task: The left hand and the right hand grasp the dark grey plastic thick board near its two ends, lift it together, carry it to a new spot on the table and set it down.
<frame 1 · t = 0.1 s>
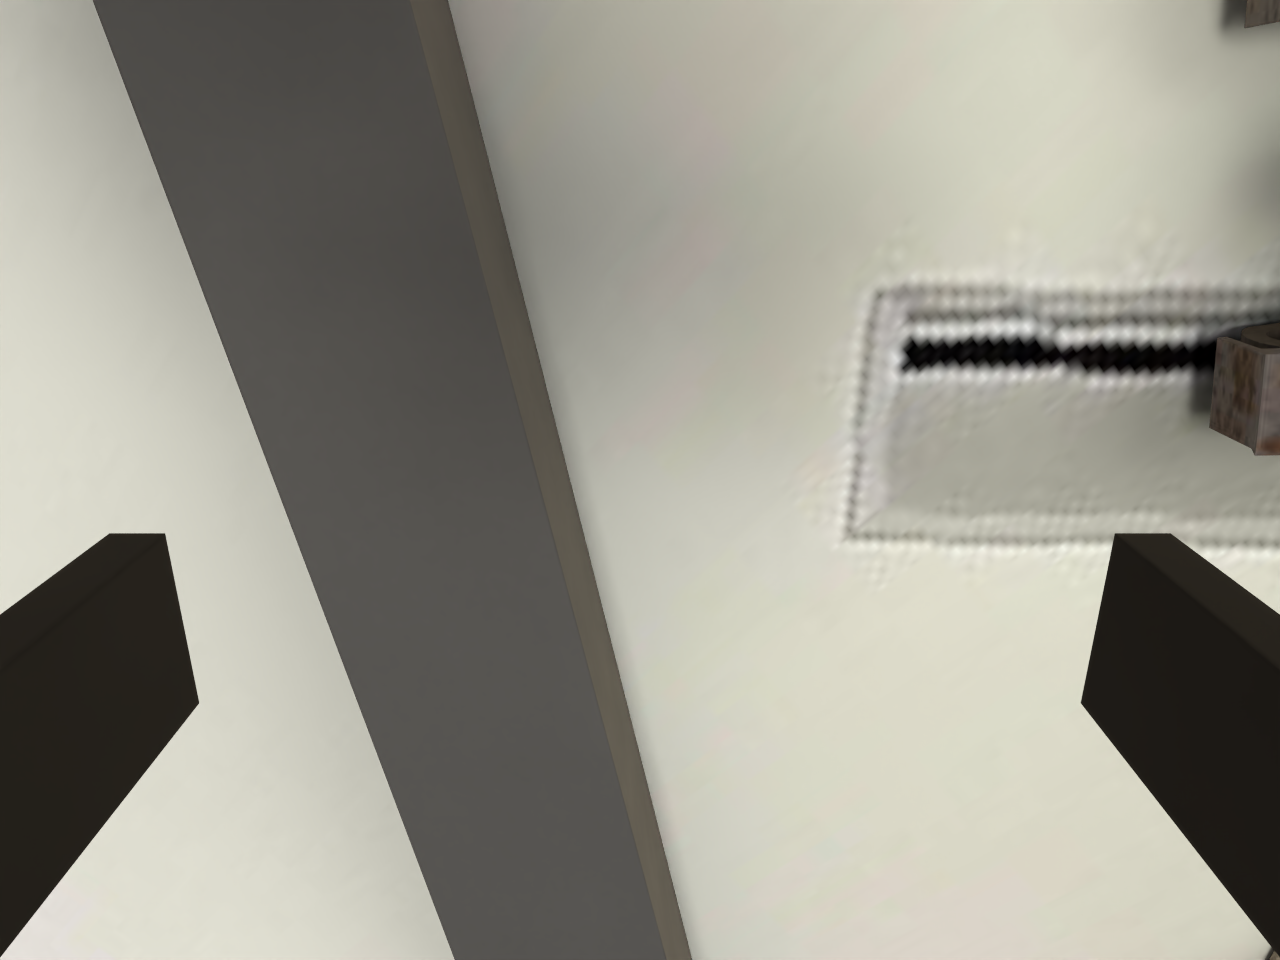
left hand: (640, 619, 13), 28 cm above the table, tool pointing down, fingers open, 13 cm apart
thick board: (494, 588, 44), on the table
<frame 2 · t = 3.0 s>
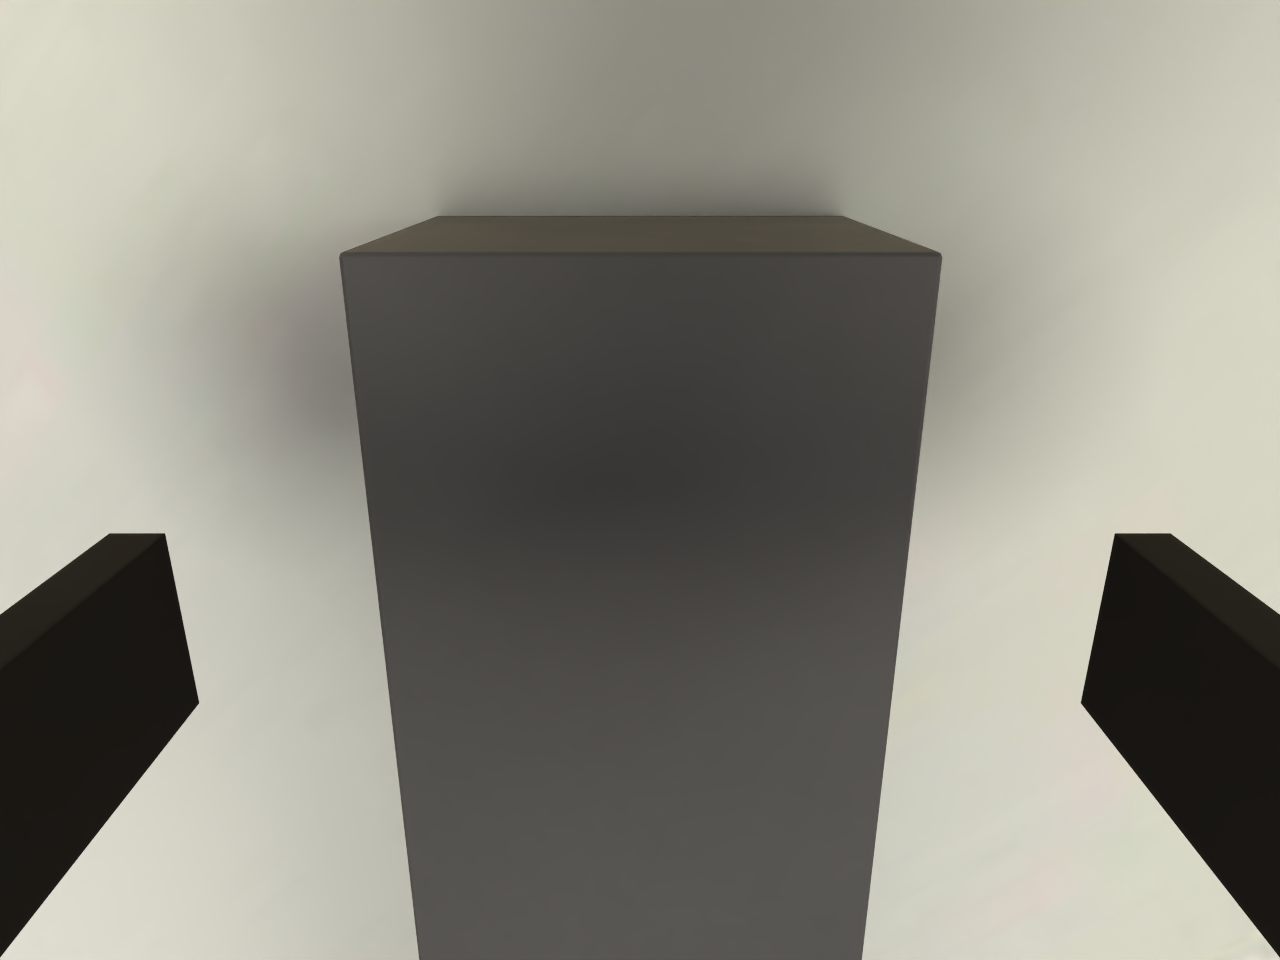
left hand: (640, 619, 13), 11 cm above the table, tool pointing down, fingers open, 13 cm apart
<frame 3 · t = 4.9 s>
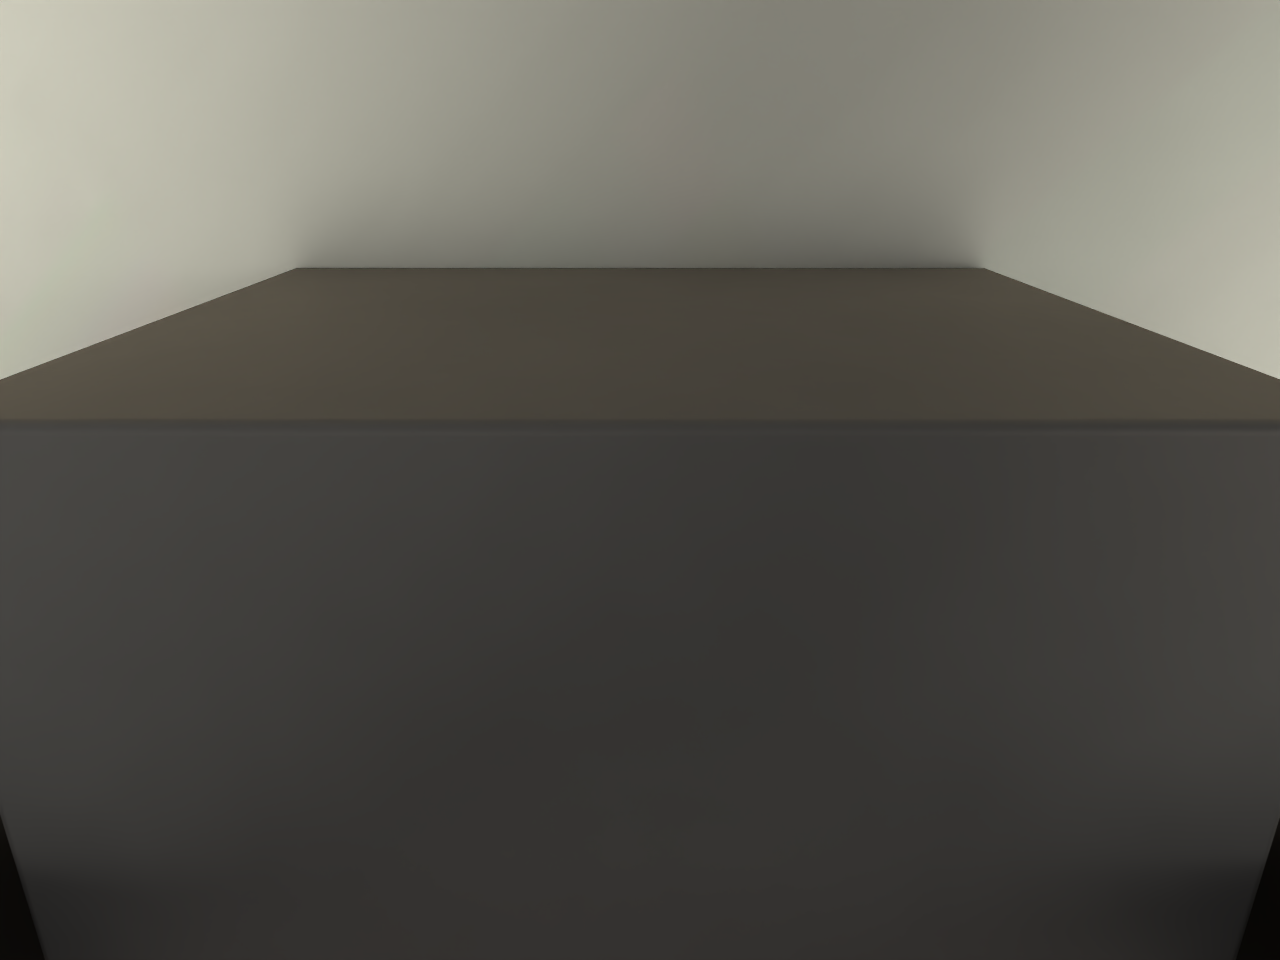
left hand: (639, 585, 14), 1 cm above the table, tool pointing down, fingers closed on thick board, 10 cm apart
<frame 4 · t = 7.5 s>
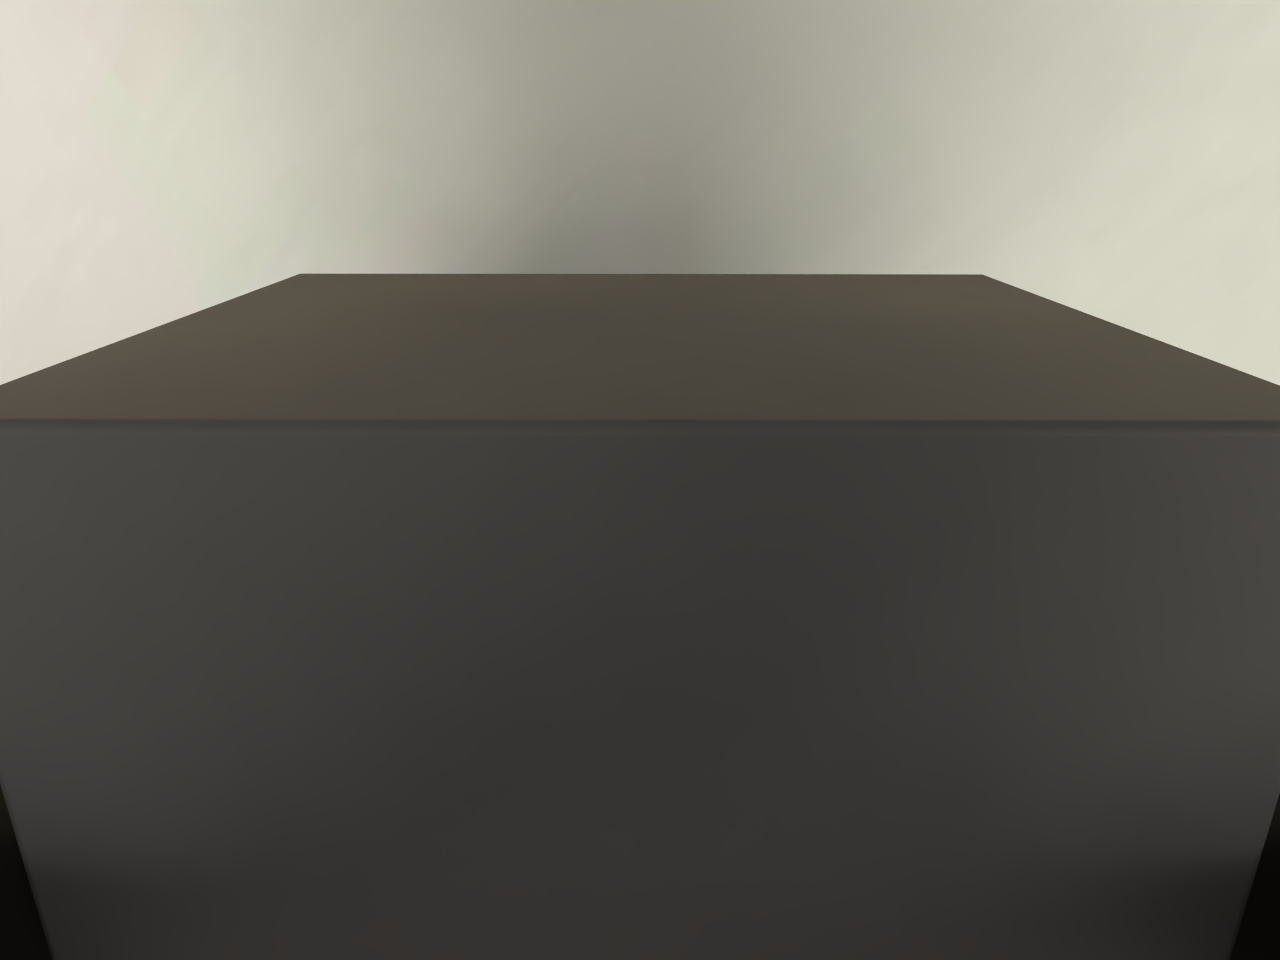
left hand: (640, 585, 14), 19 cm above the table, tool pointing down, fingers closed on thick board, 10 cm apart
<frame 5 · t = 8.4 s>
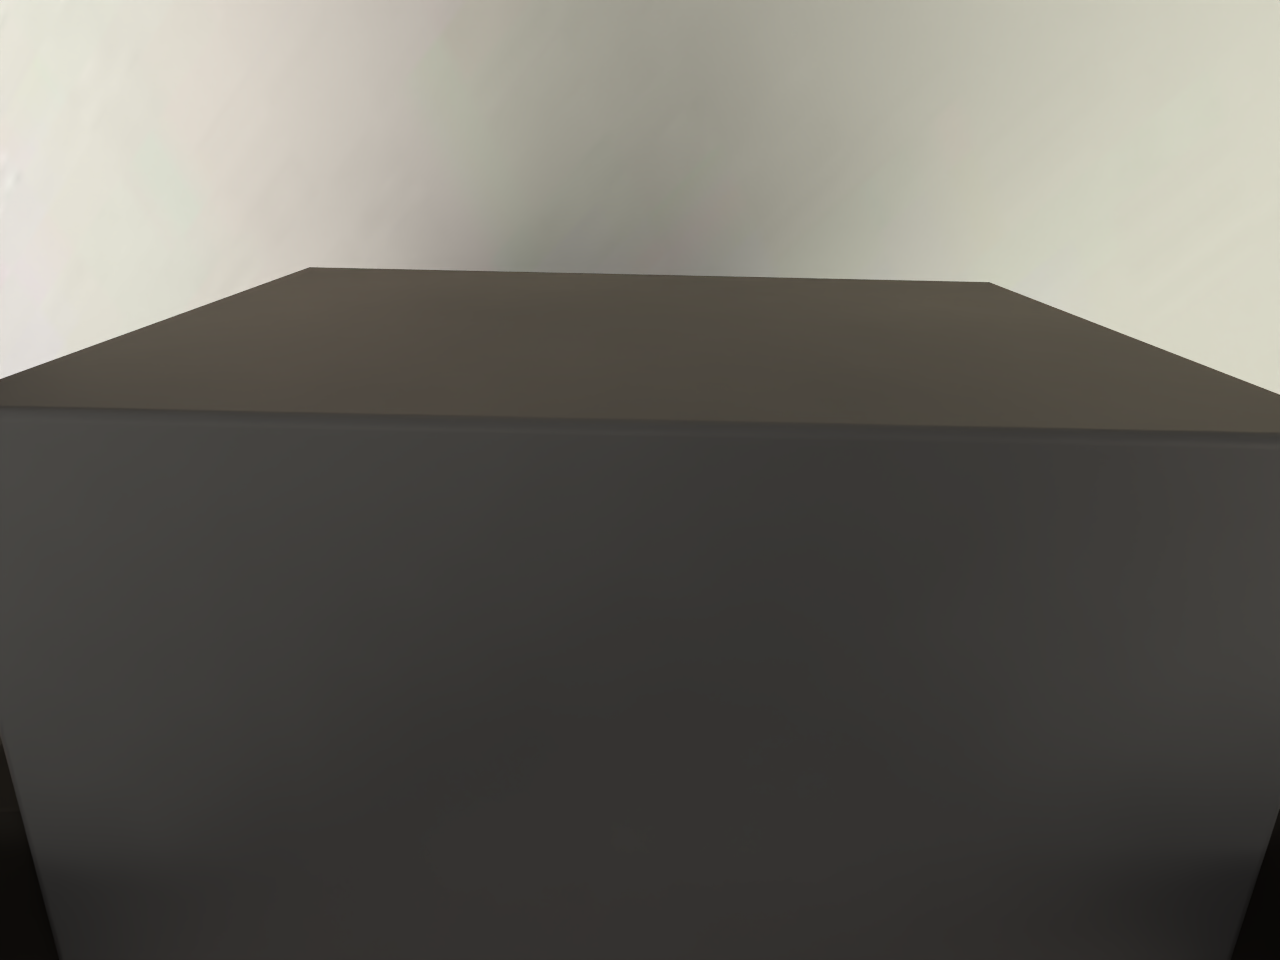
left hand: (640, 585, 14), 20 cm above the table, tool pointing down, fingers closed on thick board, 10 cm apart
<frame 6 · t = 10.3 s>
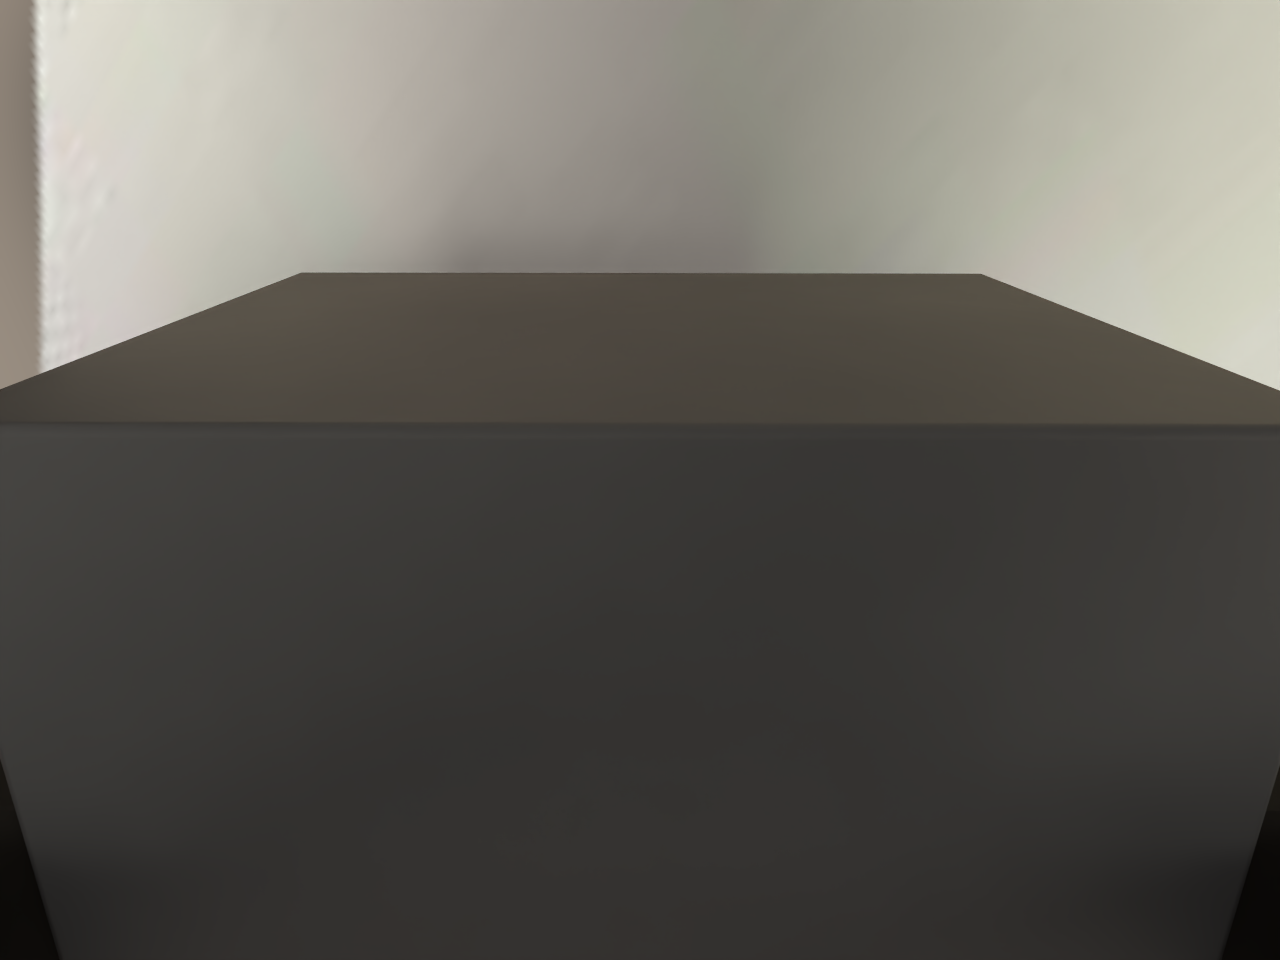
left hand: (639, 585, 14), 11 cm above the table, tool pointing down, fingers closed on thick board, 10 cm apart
when the left hand's fingers open (2 cm above the table, at t = 11.9 s): thick board drops 1 cm, on the table.
when the right hand's fingers open (2 cm above the table, at t = 11.9 s): thick board drops 1 cm, on the table.
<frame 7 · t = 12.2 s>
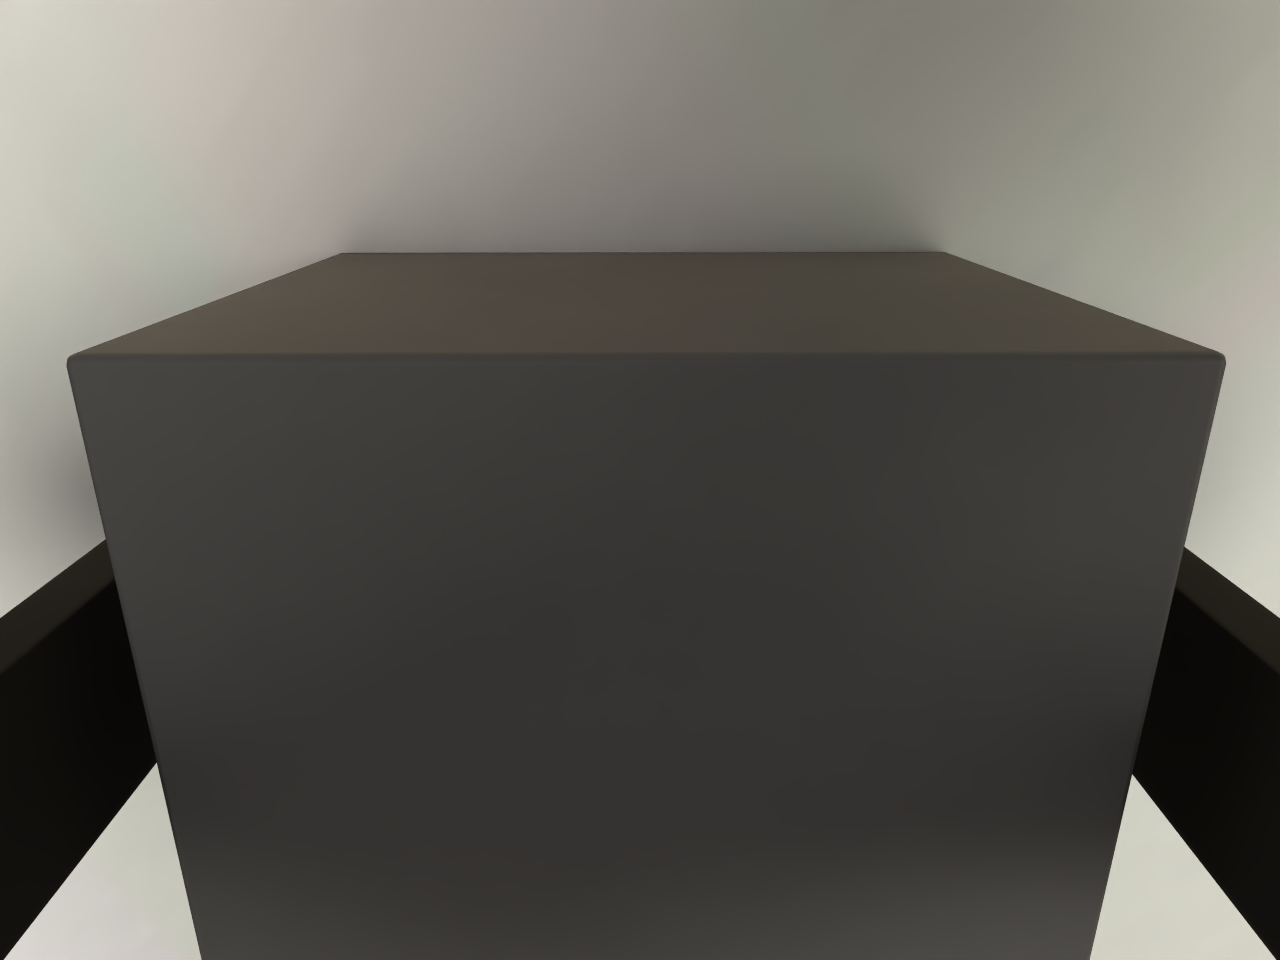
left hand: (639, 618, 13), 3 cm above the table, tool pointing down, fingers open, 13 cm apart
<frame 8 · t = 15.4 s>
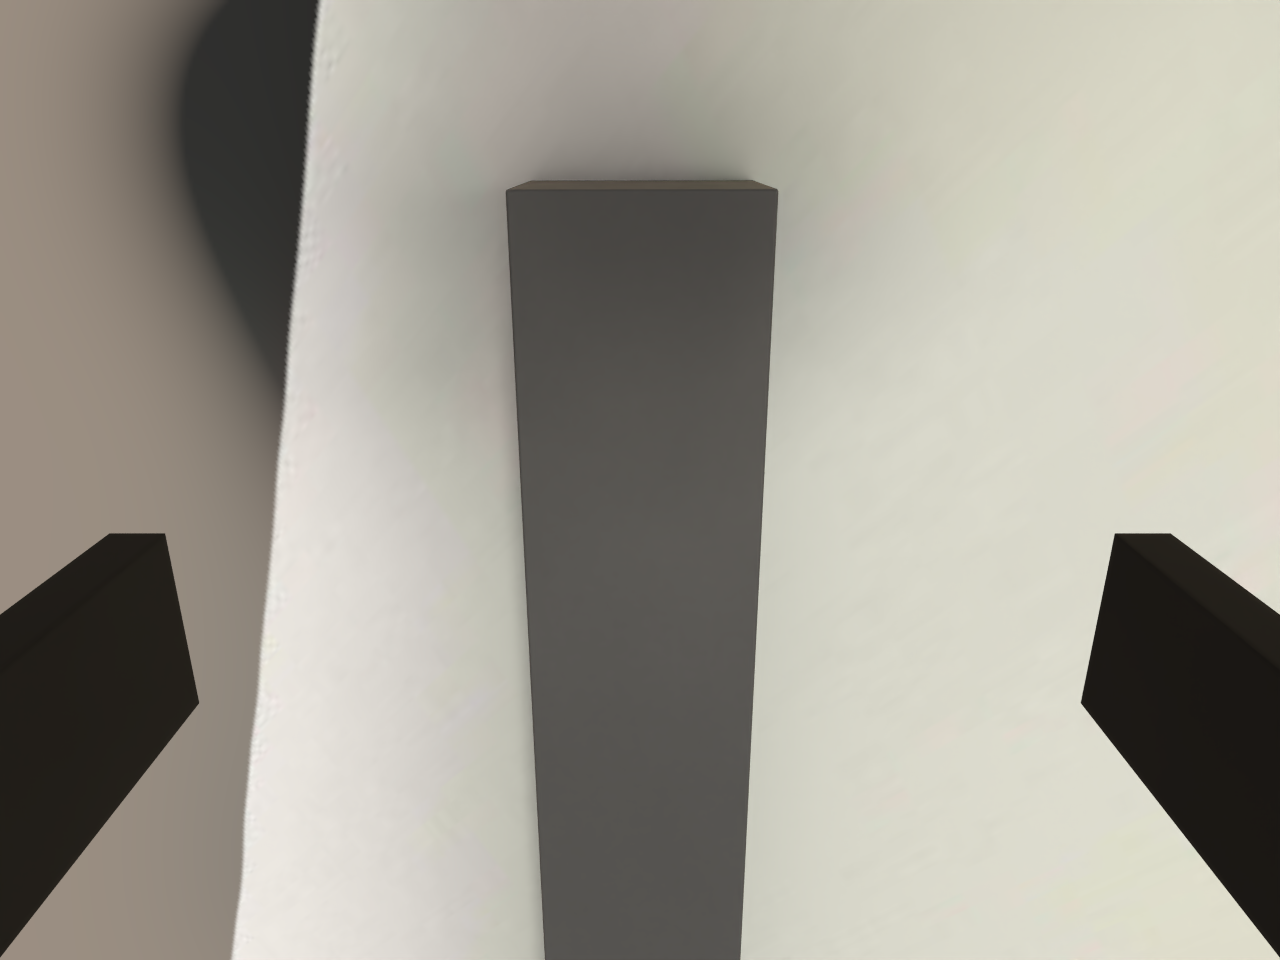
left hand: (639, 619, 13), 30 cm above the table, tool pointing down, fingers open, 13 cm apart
thick board: (642, 820, 51), on the table
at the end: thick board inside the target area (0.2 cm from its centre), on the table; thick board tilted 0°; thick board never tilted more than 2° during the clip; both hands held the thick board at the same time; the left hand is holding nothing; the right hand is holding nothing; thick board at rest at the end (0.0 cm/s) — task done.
